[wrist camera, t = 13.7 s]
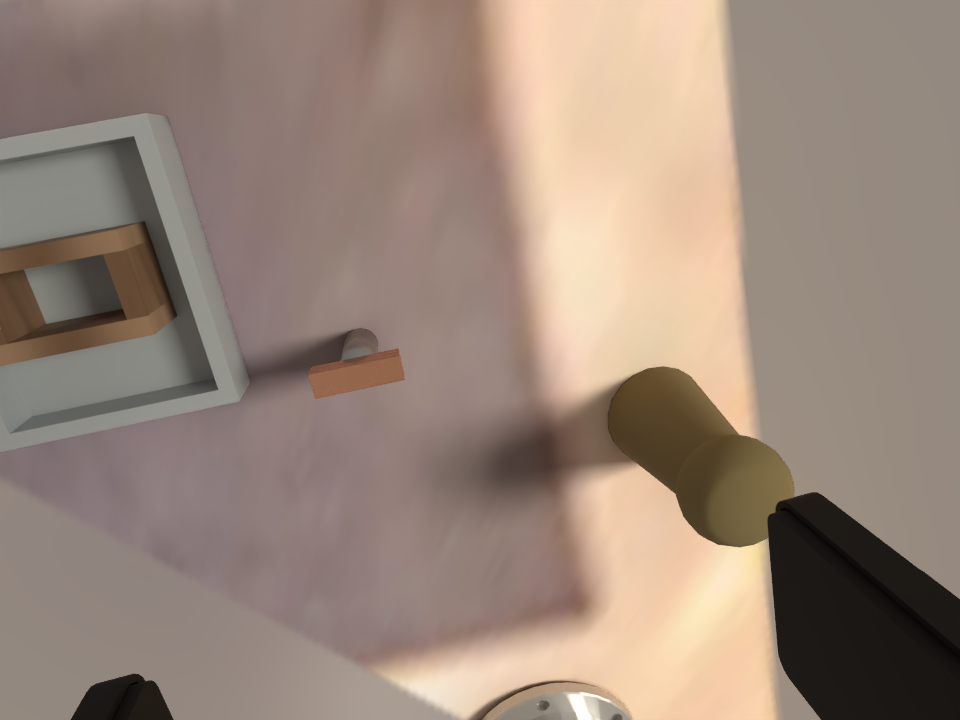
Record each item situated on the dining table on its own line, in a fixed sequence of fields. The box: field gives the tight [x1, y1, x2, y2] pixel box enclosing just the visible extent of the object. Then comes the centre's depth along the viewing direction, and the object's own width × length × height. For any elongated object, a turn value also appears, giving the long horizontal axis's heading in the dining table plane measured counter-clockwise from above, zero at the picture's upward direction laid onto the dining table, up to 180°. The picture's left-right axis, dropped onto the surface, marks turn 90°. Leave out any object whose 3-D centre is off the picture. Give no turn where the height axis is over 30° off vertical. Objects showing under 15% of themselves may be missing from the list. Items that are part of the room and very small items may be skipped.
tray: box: [0, 113, 250, 452], centre depth 31 cm, size 14×12×3 cm
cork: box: [608, 367, 794, 547], centre depth 34 cm, size 6×6×11 cm
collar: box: [0, 221, 177, 366], centre depth 30 cm, size 7×5×4 cm
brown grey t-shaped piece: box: [309, 328, 405, 399], centre depth 33 cm, size 2×4×5 cm, turn 100°
